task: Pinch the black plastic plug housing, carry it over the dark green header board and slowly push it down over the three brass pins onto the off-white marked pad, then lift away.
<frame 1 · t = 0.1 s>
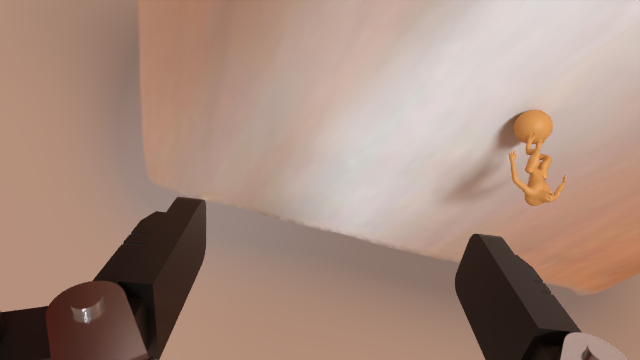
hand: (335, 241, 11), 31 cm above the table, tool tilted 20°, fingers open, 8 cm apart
figurine: (520, 121, 46), on the table
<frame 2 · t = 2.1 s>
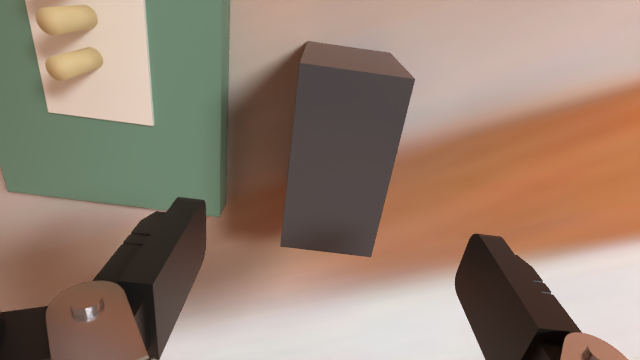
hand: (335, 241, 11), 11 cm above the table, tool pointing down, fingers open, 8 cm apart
header board: (106, 14, 18), on the table
plug housing: (336, 124, 21), on the table
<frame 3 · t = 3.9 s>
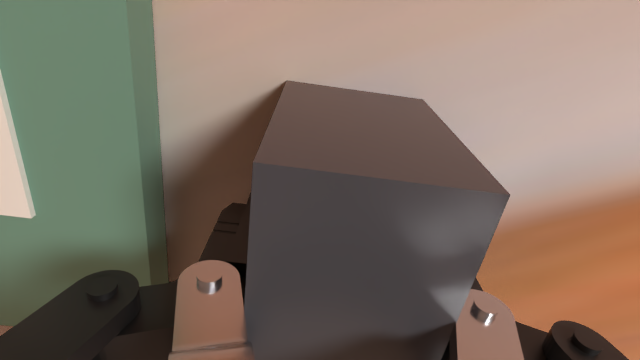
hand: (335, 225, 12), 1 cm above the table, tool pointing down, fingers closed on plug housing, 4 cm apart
plug housing: (334, 205, 13), on the table, touching gripper
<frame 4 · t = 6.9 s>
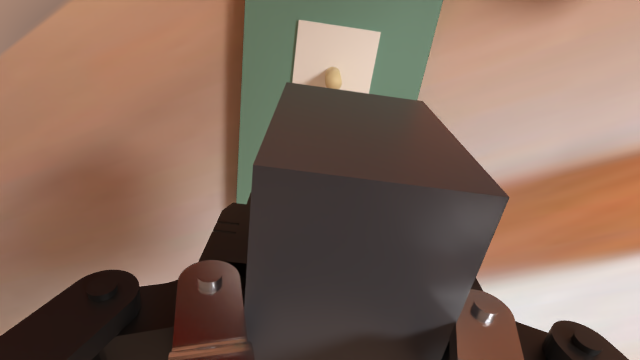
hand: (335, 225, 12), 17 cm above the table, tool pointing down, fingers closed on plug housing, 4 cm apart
header board: (328, 95, 27), on the table
plug housing: (334, 206, 13), point 16 cm above the table, touching gripper
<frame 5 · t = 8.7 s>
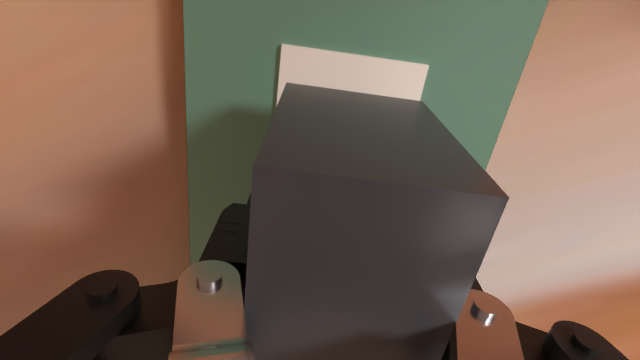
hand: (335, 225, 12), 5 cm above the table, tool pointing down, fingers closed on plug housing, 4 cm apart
header board: (334, 160, 17), on the table
plug housing: (334, 206, 13), point 4 cm above the table, touching gripper
when the fingers open (3 cm above the table, at t = 10.0 s): plug housing stays where it is, resting on header board.
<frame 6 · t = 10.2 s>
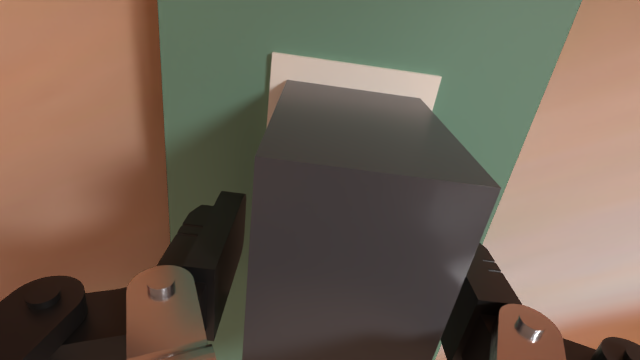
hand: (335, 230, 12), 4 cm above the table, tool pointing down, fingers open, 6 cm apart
header board: (332, 180, 15), on the table
plug housing: (334, 202, 13), point 2 cm above the table, touching header board
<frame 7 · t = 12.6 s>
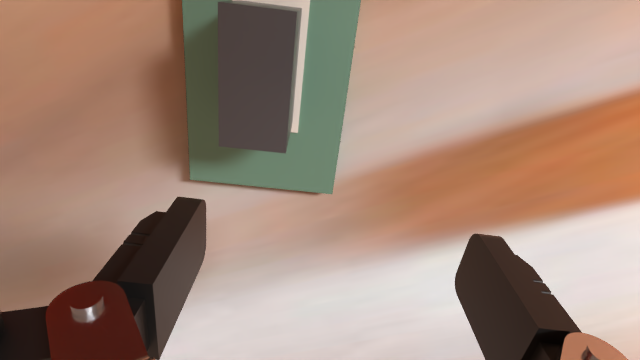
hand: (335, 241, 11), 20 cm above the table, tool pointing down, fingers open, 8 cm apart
header board: (270, 62, 28), on the table
plug housing: (267, 66, 27), point 2 cm above the table, touching header board
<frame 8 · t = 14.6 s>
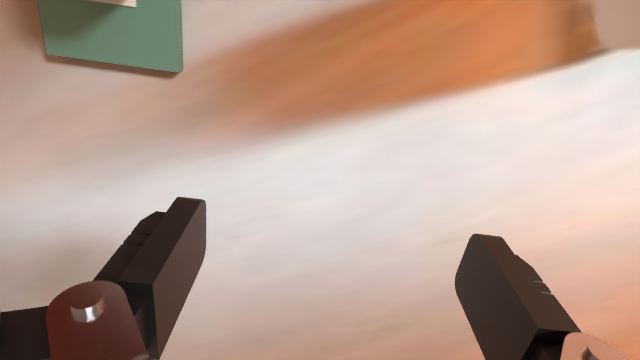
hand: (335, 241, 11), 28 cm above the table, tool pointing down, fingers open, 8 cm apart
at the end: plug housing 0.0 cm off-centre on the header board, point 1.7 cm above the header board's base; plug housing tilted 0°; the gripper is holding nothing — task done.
